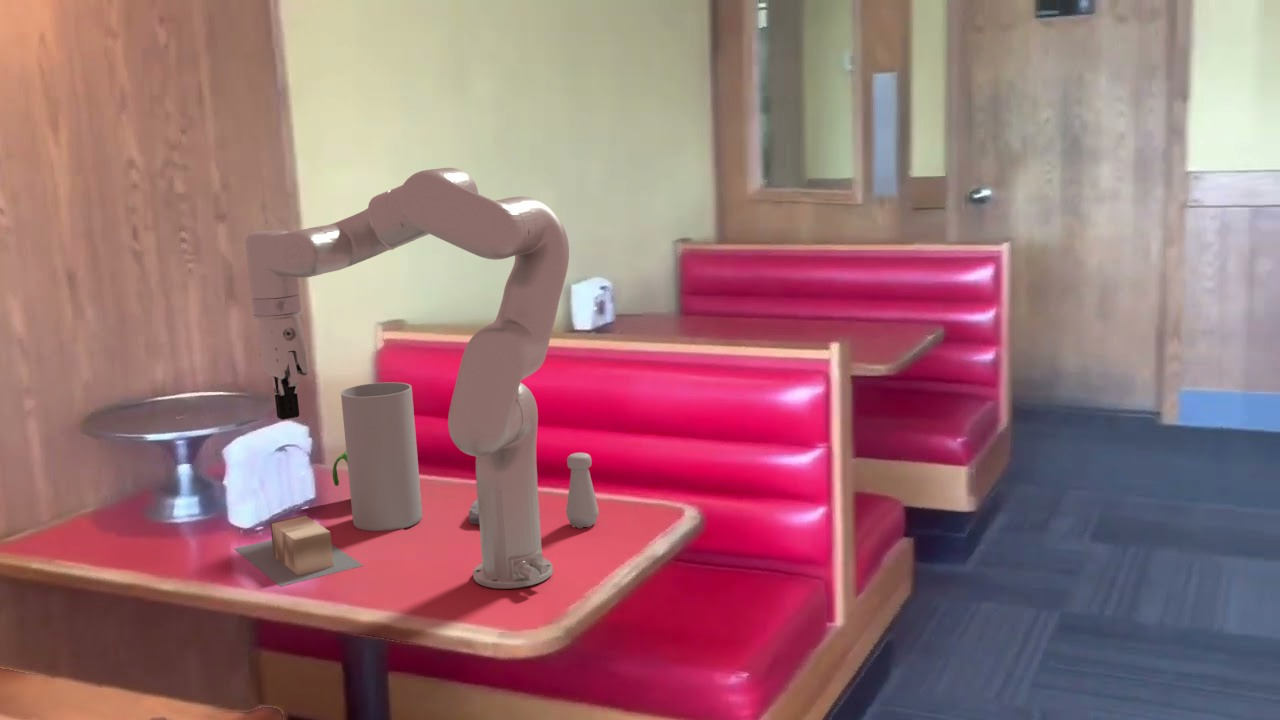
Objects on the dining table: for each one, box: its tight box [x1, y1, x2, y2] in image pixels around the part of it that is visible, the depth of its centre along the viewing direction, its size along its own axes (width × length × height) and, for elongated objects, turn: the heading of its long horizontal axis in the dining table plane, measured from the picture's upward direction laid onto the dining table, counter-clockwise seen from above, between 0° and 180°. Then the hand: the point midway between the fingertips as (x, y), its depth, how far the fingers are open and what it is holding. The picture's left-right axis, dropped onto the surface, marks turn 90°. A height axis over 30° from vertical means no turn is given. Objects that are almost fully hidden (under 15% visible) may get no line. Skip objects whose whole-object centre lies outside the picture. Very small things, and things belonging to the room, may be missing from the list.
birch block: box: [269, 514, 334, 575], centre depth 206 cm, size 6×6×12 cm
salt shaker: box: [565, 452, 600, 529], centre depth 219 cm, size 6×6×13 cm
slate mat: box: [234, 539, 364, 587], centre depth 209 cm, size 24×14×1 cm, turn 35°
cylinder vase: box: [340, 381, 423, 532], centre depth 225 cm, size 12×12×25 cm
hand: (288, 417), depth 203 cm, fingers closed
